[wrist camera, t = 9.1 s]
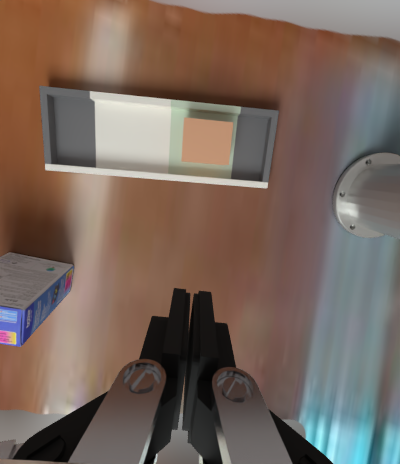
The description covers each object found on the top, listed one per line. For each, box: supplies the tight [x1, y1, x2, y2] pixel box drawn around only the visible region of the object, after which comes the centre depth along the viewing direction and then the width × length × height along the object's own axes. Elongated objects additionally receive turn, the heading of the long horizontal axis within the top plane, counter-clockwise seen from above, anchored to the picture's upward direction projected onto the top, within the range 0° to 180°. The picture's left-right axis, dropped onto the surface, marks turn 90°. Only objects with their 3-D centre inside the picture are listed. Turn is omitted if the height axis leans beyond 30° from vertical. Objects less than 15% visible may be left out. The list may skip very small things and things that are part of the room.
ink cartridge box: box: [0, 252, 74, 347], centre depth 31 cm, size 10×6×14 cm, turn 76°
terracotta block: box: [181, 118, 233, 165], centre depth 32 cm, size 6×5×4 cm
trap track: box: [39, 86, 279, 188], centre depth 33 cm, size 30×10×2 cm, turn 85°
